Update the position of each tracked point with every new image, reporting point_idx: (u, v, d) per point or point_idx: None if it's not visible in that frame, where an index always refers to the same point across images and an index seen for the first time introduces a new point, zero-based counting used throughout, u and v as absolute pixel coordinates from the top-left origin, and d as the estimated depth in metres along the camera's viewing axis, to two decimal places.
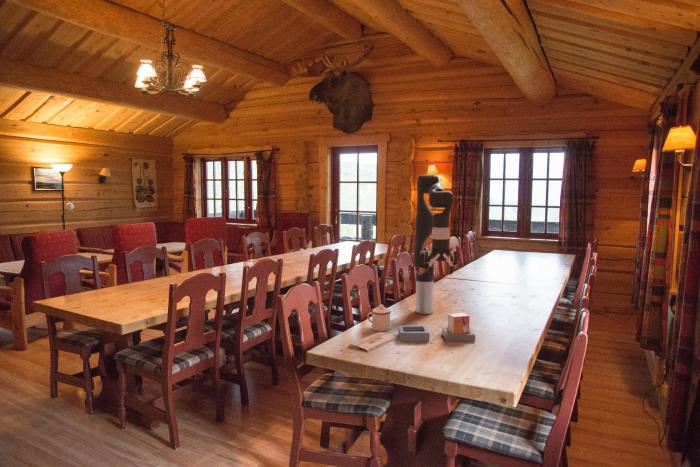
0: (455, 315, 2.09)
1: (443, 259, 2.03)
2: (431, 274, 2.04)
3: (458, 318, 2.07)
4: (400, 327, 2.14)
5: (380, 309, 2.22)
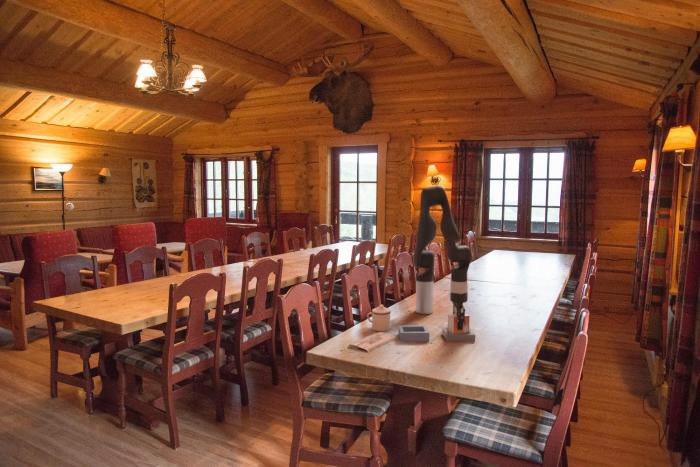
0: (455, 315, 2.09)
1: None
2: (462, 328, 2.07)
3: None
4: (400, 327, 2.14)
5: (380, 309, 2.22)
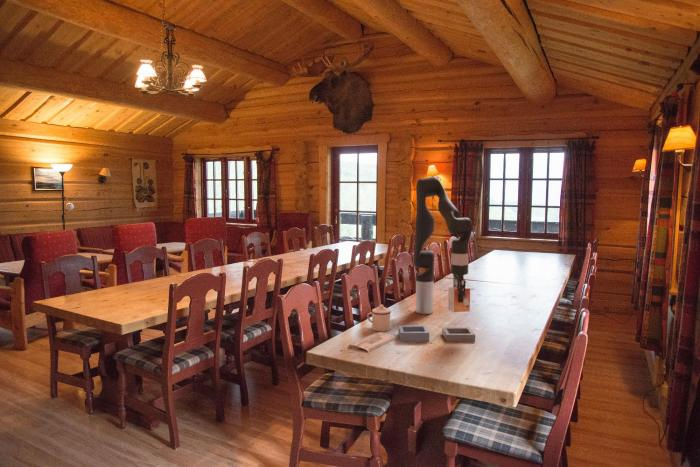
0: (456, 288, 2.08)
1: None
2: None
3: None
4: (400, 327, 2.14)
5: (380, 309, 2.22)
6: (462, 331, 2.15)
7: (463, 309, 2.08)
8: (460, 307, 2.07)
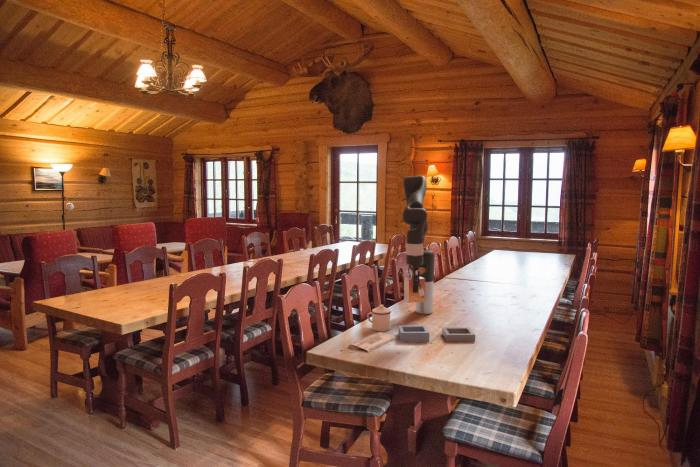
0: None
1: None
2: (417, 291, 2.06)
3: None
4: (400, 327, 2.14)
5: (380, 309, 2.22)
6: (462, 331, 2.15)
7: (418, 299, 2.07)
8: (415, 298, 2.07)
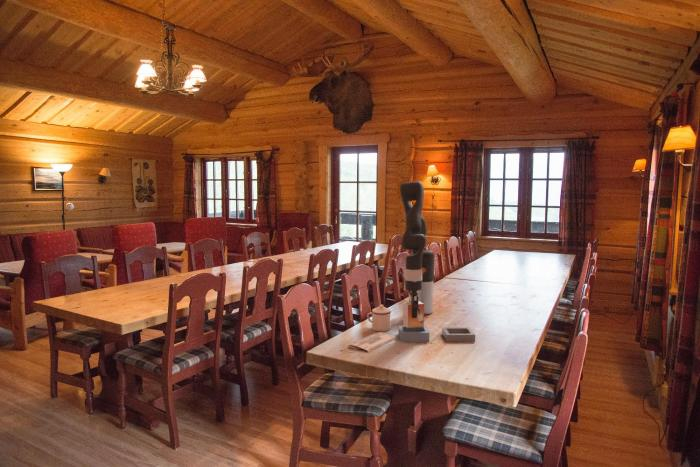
0: None
1: None
2: (416, 316, 2.07)
3: None
4: (400, 327, 2.14)
5: (380, 309, 2.22)
6: (462, 331, 2.15)
7: (417, 324, 2.08)
8: (414, 323, 2.08)
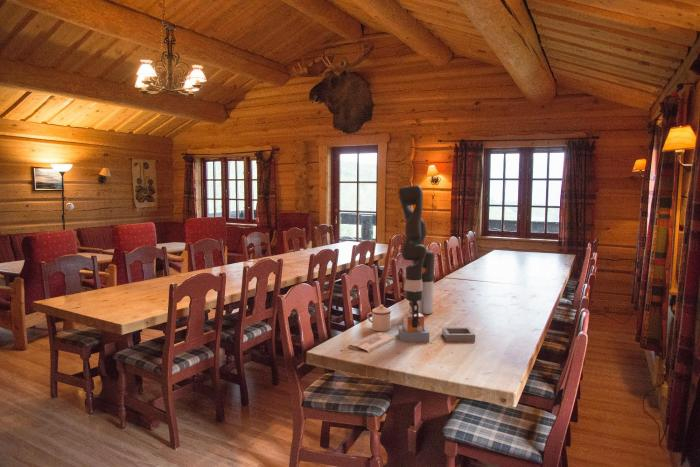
0: (410, 315, 2.09)
1: None
2: None
3: None
4: (400, 327, 2.14)
5: (380, 309, 2.22)
6: (462, 331, 2.15)
7: None
8: None
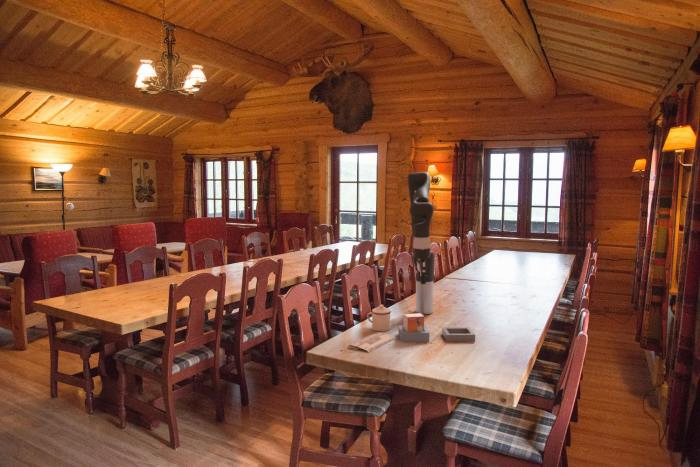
0: (410, 315, 2.09)
1: None
2: (425, 283, 2.11)
3: (412, 318, 2.08)
4: (400, 327, 2.14)
5: (380, 309, 2.22)
6: (462, 331, 2.15)
7: None
8: None
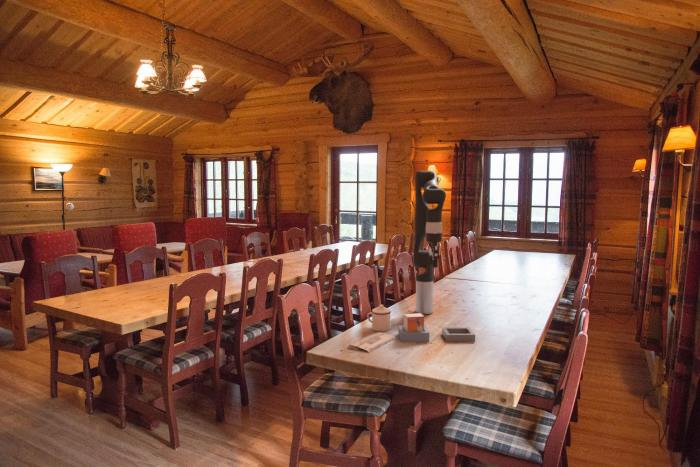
0: (410, 315, 2.09)
1: None
2: (437, 266, 2.18)
3: (412, 318, 2.08)
4: (400, 327, 2.14)
5: (380, 309, 2.22)
6: (462, 331, 2.15)
7: None
8: None
